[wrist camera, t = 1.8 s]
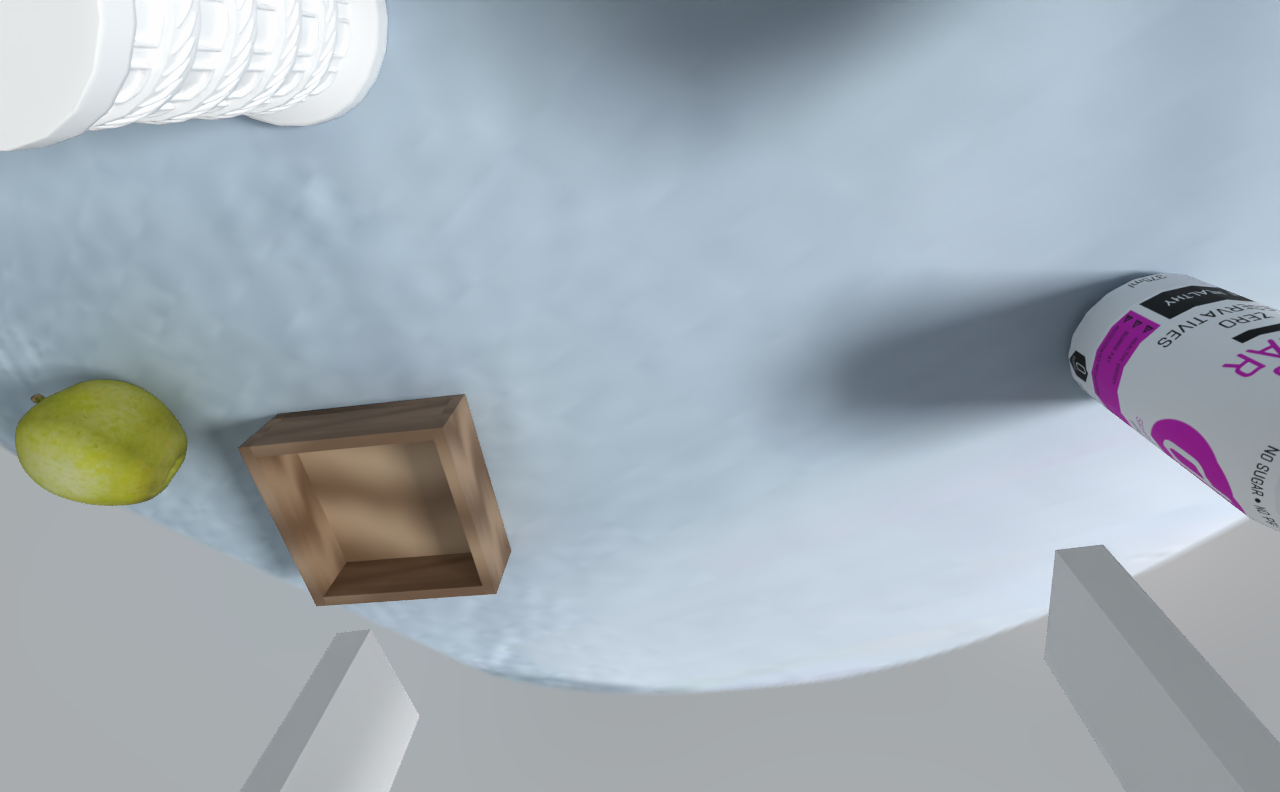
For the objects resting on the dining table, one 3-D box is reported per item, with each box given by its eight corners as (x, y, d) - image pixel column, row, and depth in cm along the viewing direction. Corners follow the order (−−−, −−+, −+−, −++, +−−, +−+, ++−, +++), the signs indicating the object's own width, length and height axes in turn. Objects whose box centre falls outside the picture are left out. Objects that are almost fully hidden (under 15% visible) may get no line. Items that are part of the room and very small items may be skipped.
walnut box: (278, 414, 44) (237, 448, 40) (464, 394, 42) (442, 427, 38) (345, 563, 50) (316, 606, 46) (511, 550, 48) (496, 593, 44)
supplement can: (1104, 419, 41) (1314, 586, 27) (1036, 334, 38) (1229, 472, 25) (1233, 337, 38) (1539, 479, 24) (1168, 240, 35) (1467, 338, 22)
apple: (97, 334, 42) (-22, 387, 34) (229, 405, 44) (142, 469, 36) (73, 417, 45) (-41, 481, 38) (198, 480, 47) (112, 552, 40)
